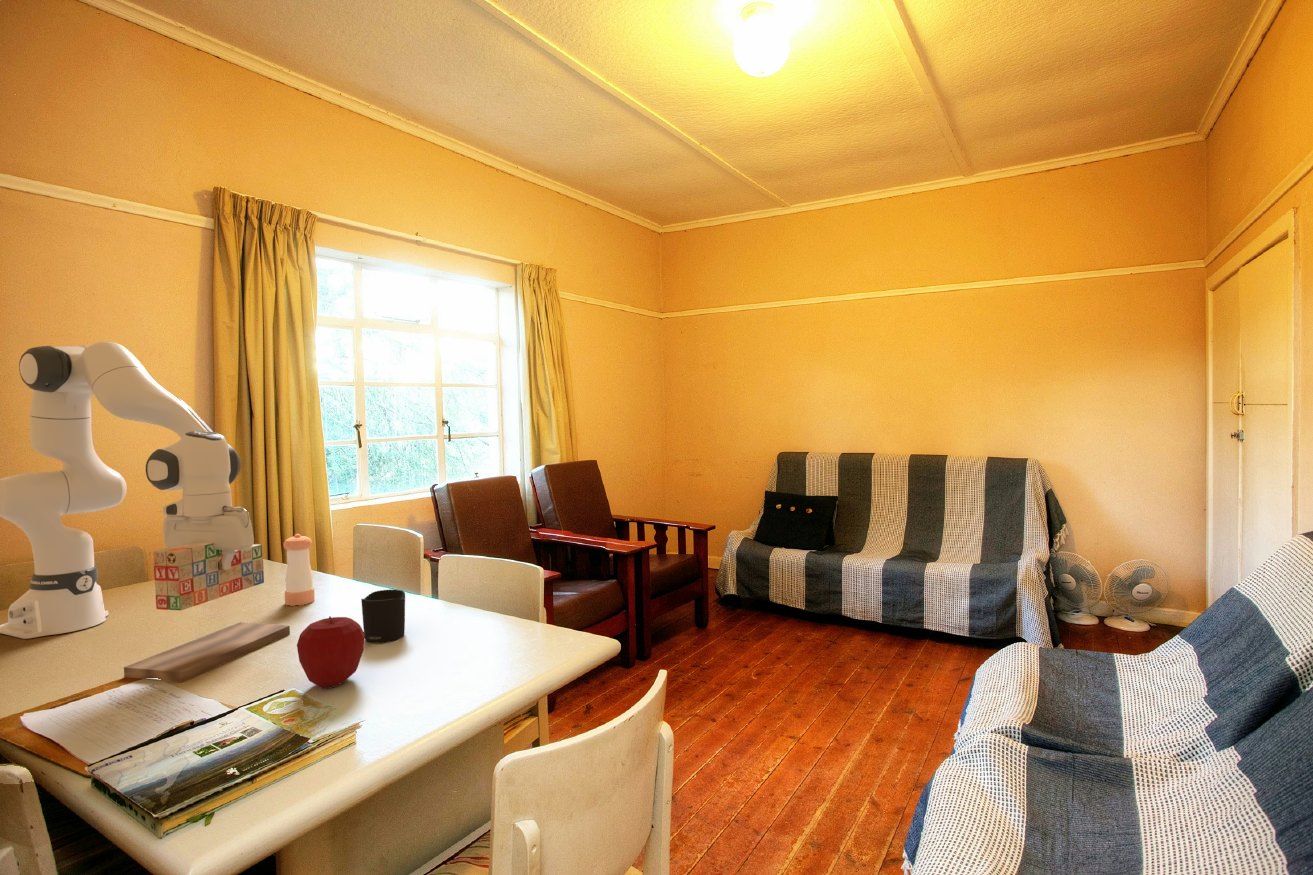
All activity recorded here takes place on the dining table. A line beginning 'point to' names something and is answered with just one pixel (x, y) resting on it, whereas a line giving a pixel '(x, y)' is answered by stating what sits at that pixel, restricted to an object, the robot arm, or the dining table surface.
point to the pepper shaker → (298, 571)
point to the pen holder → (384, 616)
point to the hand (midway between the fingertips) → (210, 568)
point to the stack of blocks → (202, 574)
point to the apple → (331, 650)
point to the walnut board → (206, 652)
